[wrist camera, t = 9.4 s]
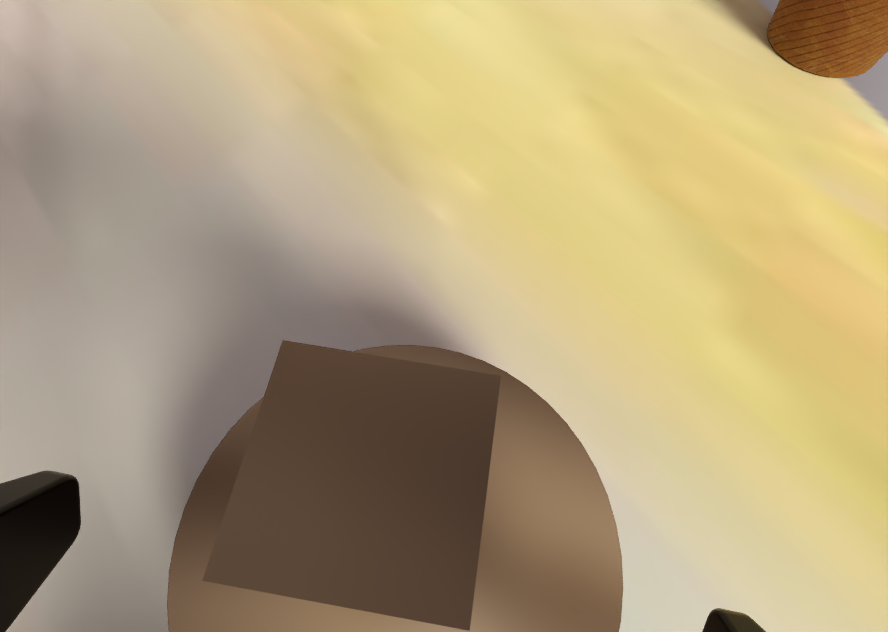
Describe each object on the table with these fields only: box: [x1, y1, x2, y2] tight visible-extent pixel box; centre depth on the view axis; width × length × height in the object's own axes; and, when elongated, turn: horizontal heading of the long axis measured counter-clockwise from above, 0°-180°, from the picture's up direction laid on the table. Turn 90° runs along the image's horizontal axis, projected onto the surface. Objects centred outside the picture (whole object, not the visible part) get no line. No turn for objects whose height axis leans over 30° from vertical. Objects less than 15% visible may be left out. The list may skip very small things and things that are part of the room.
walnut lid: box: [167, 340, 623, 632], centre depth 11 cm, size 12×12×10 cm
